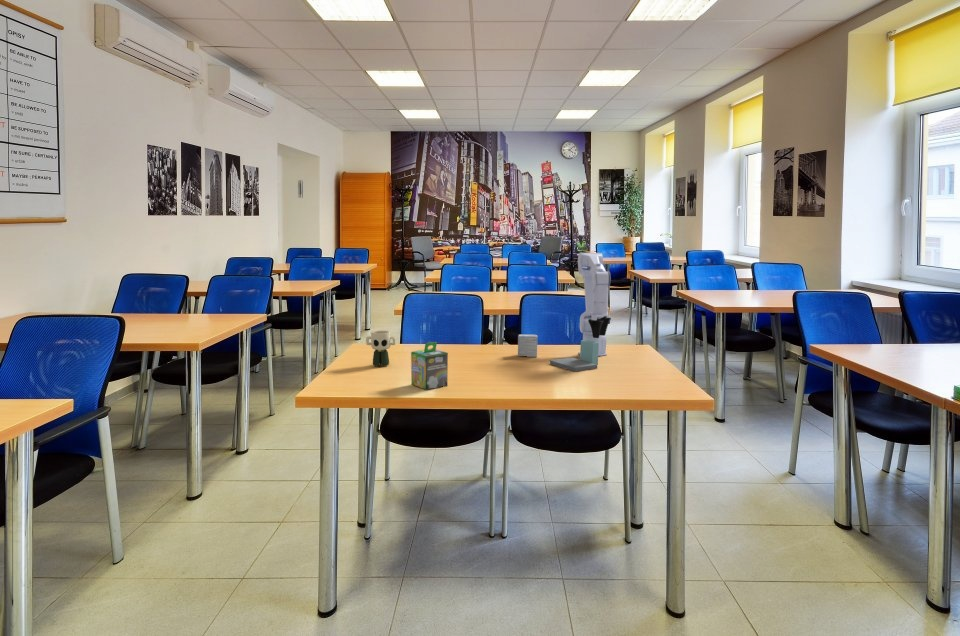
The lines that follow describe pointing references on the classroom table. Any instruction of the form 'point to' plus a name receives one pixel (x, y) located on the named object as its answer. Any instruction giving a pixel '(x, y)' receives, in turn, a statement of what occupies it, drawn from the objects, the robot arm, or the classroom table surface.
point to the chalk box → (429, 367)
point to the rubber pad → (573, 364)
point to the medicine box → (527, 345)
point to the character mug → (380, 346)
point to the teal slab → (589, 351)
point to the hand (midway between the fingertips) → (599, 336)
